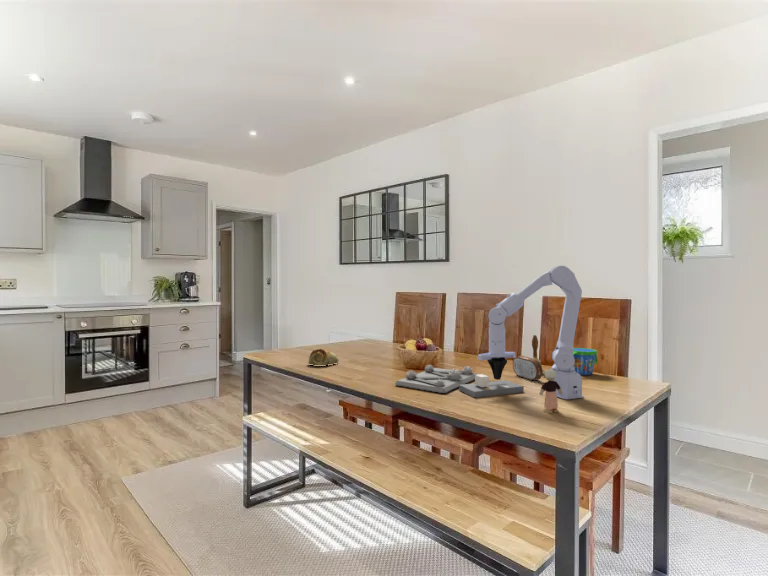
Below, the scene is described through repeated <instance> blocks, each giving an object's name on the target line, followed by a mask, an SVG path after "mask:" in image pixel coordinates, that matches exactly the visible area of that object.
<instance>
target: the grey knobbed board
mask: <svg viewBox="0 0 768 576" xmlns="http://www.w3.org/2000/svg"><path fill="white" fill-rule="evenodd" d="M451 368H452V369H447V368H440V367H435V366H433V365H431V364H426V365H425V366H424V371H422V372H421V371H420V372H416V370H412V369H410V370H409V371H406V372H405V373H406V374H404V376H405V377H404V378H402V379H398V380H396V381H395V382H394V384H395V385H396V386H397V387H400V386H403V387H402V388H406V387H409V388H408V389H411V388H415V389H414V390H417V389H420V390H419V391H423V390H426V391H425V392H428V391H432V392H431V393H434V392H438V393H437V394H440V393H445V394H447V393H449V392H452V391H453V389H454V390H455V389H459V385H463V384H466V383H467V384H470V382H473V381H475V375H479V374H478V373H475V372H473V371H474V368H473V367H472V366H471V365H469V366H467V365H464V366H461V368H460V369H461V370H460V369H459V368H457V369H456V368H453V367H451ZM451 390H452V391H451Z"/></svg>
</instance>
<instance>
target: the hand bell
mask: <svg viewBox="0 0 768 576" xmlns="http://www.w3.org/2000/svg"><path fill="white" fill-rule="evenodd" d="M531 346H532V350H533V351H532V358H533V359H536V360H537V361H538V362H539V363H540V364H541V367H542V360H541V359H539V358H538V348H539V339H538V336H537V335H535V334H534V335H532V339H531ZM542 371H543V372H542V374H543V375H545V371H546V370H544V369H543V367H542Z"/></svg>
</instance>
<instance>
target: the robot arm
mask: <svg viewBox="0 0 768 576" xmlns="http://www.w3.org/2000/svg"><path fill="white" fill-rule="evenodd" d="M553 284H554V285H555V286H558V287H559V288H560V289H561V291H562V292H563V293H564V294H565V299H564V303H563V304H564V305H563V310H562V316H561V322H560V328H559V335H558V339H557V342H556V346H555V348H554V350H553V351H552V353H551V360H552V361H553V362H554V363H553V365H552V366H551V369H553V370H554V371H555V373H556V377H555V379H554V380H553V381H556V382H557V383H558V384H559V386H560V388H561V391H562V394H559V391H558V390H557V389H556V395H557V398H560V399H562V400H574V399H580V398H581V399H583V398H584V397H585V396H584V395H583V377H582V375H580V374H579V373H576V372H575V370H574V367H573V366H574V363H575V359H574V356H573V350H574V348H575V347H574V342H575V341H574V340H575V335H576V329H577V324H578V323H577V322H578V317H579V310H580V306H581V301H582V300H581V299H582V294H583V290H582V288H581V285H580V284H579V282H578V280H577V277H576V274H575V273H574V272H573V271H572V269H570V268H569V267H567V266H566V265H557V266H554V267H552V268H551V269H550V270H547V271H545V272H544V273H543V274H541V275H539V276H538V277H537V278H535V279H534V280H533V281H532V282H530V283H529V284H528V285H527V286H525V287H524V288H523V289H522V290H520V291H519V292H512V293H511V294H510V293H508V294H507V295H506V298H504V299H503V300H501V301H500V302H499V303H498V302H497V303H496V304H495V307H493V308H491V309H490V310H489V312H488V320H489V322H488V326H489V327H488V352H485V353H479V354H478V355H477V360H478V361H486V360H487V362H488V364H489V367H490V368H491V371H492V376H493V379H494V380H495V381H501V379H502V374H503V372H504V368H505V366H506V365H507V363H508V358H511V359H512V358H513V359H514V358H516V357H517V354H516V352H515V351H506V328H505V320H506V317H511V316H512V315H513V314H514V313H516V312H517V311H519V310H520V309H521V308H522V307H523V306H524V304H525V300H526V299H528V298H530V296H532V295H534V294H535V293H536V292H537V291H539V290H540V289H542V288H544V287H547V286H552V285H553Z"/></svg>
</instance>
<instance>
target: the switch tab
mask: <svg viewBox="0 0 768 576" xmlns="http://www.w3.org/2000/svg"><path fill="white" fill-rule="evenodd" d="M489 379H490V376H488V375H485V374H483V373H481V374H480V373H479V374H478V375H475V380H474V383H475V385H477V386H479V387H489V382H490V380H489Z"/></svg>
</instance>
